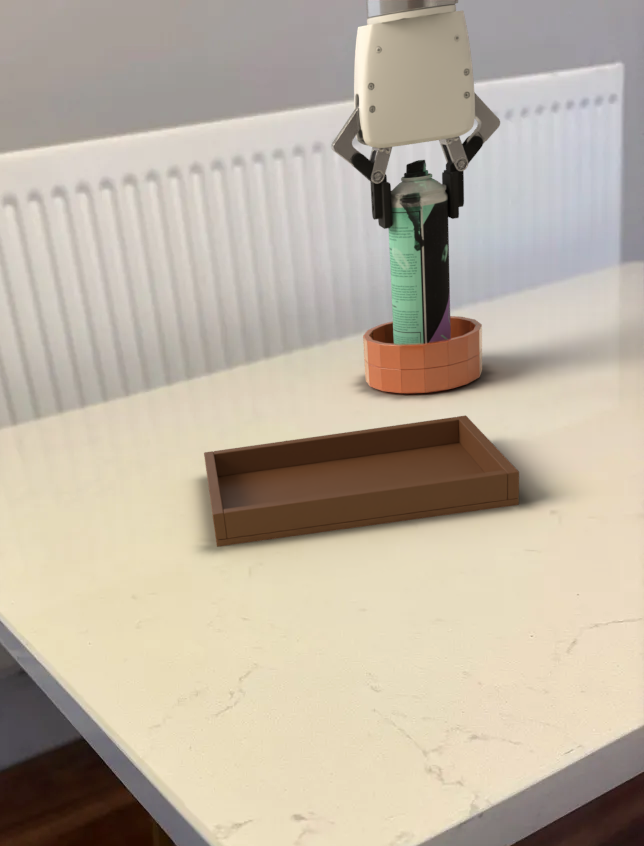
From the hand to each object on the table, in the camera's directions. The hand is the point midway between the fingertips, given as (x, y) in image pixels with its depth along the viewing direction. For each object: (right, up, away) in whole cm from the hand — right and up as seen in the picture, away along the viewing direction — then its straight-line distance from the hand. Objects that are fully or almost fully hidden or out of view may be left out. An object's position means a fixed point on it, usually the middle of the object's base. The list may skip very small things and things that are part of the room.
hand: (418, 219), depth 96 cm
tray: (-9, -27, -17) cm, 33 cm away
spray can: (+2, -13, +7) cm, 15 cm away
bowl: (+2, -13, +7) cm, 15 cm away
